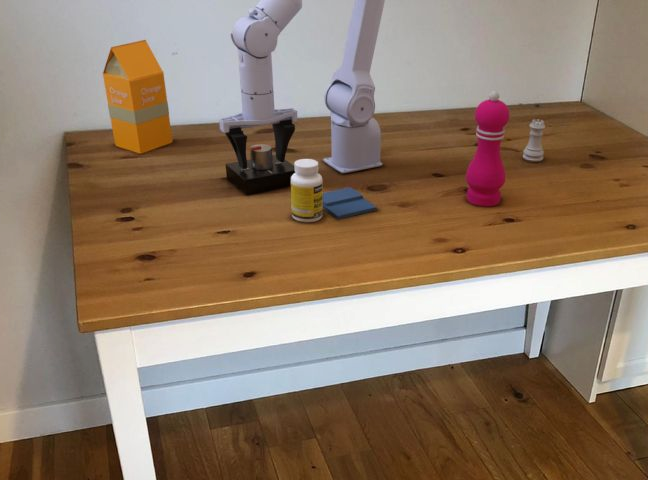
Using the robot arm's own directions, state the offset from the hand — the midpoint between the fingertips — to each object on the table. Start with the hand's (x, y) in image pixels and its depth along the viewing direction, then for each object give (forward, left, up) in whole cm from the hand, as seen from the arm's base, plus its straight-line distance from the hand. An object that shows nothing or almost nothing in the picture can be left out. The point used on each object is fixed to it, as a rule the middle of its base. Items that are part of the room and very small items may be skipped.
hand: (262, 163), depth 144 cm
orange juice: (+13, -30, -4) cm, 33 cm away
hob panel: (0, 0, -3) cm, 3 cm away
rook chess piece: (-55, +15, -4) cm, 57 cm away
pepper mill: (-32, +27, -4) cm, 42 cm away
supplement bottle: (0, +18, -4) cm, 18 cm away
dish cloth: (-8, +17, -3) cm, 19 cm away
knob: (0, 0, 0) cm, 0 cm away
